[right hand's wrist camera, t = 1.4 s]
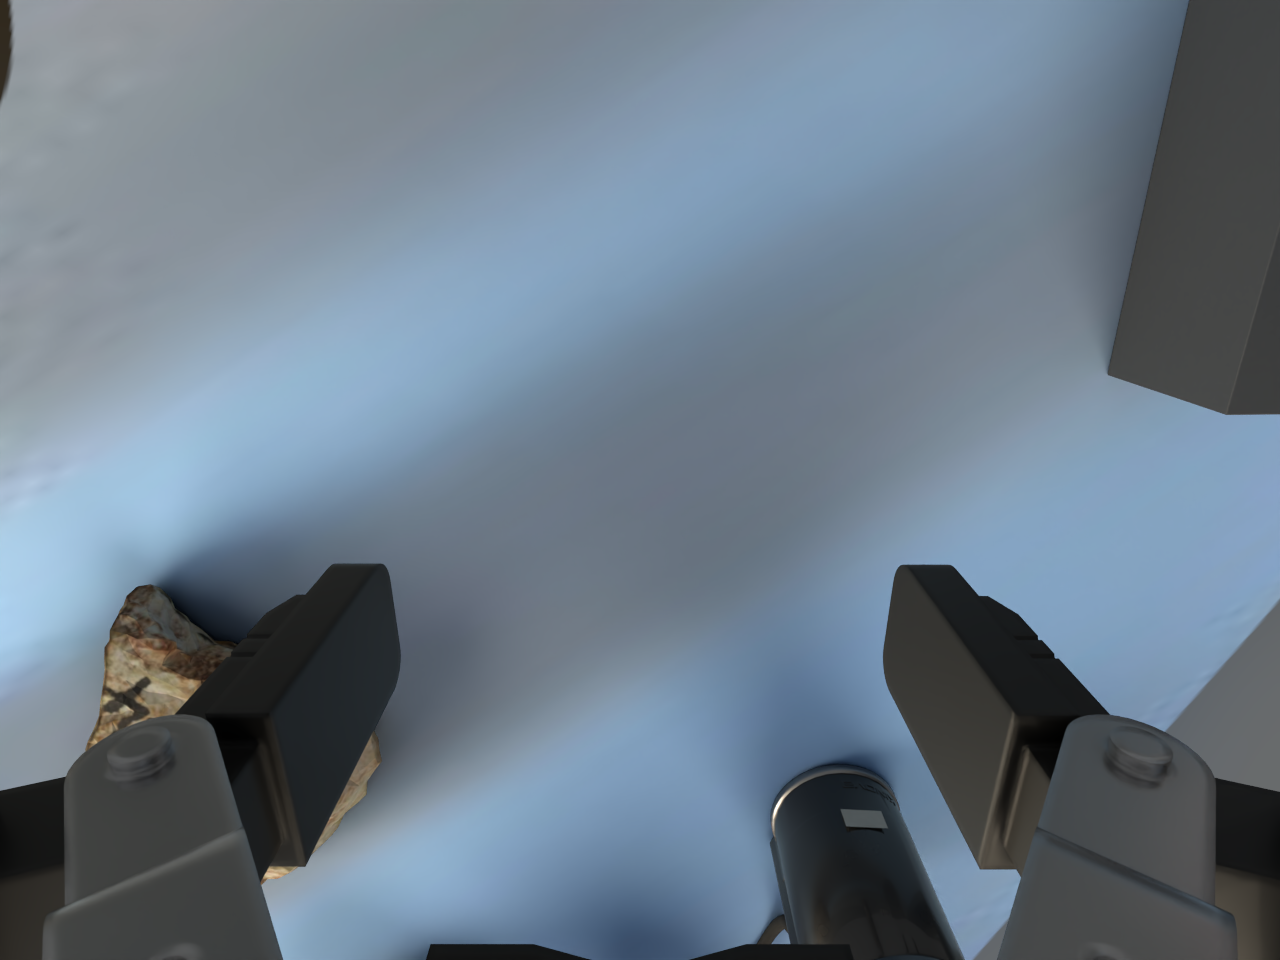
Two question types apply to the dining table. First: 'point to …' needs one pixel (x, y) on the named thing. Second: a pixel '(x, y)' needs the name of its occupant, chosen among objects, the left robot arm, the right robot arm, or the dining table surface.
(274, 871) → the stone
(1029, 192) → the dining table surface
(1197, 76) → the box
